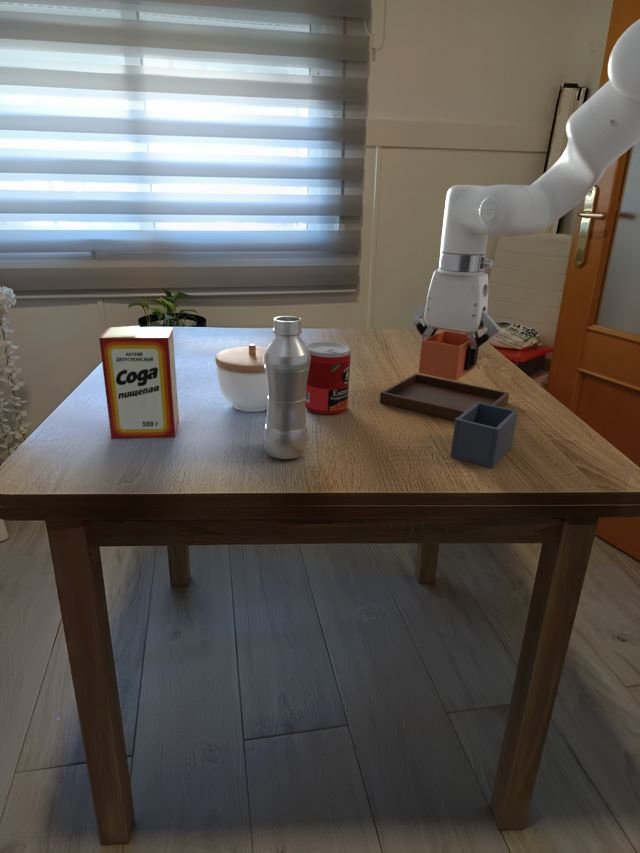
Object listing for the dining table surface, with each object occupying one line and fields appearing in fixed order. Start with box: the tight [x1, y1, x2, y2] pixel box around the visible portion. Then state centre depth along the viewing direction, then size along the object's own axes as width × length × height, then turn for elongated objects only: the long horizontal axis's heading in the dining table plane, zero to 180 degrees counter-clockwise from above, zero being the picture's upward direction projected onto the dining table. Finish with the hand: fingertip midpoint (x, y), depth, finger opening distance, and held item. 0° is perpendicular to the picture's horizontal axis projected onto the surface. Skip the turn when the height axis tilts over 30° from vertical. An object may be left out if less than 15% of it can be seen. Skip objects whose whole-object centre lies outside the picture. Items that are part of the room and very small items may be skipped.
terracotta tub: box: [418, 329, 477, 382], centre depth 103 cm, size 7×10×6 cm
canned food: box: [305, 341, 352, 416], centre depth 100 cm, size 8×8×11 cm
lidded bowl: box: [214, 343, 268, 413], centre depth 100 cm, size 13×13×11 cm
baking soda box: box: [98, 325, 180, 440], centre depth 88 cm, size 10×6×16 cm
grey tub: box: [450, 402, 519, 469], centre depth 86 cm, size 6×9×6 cm
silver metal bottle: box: [262, 315, 311, 460], centre depth 80 cm, size 6×7×20 cm
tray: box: [379, 372, 510, 422], centre depth 106 cm, size 19×15×2 cm
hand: (448, 363), depth 104 cm, fingers closed on terracotta tub, 7 cm apart
